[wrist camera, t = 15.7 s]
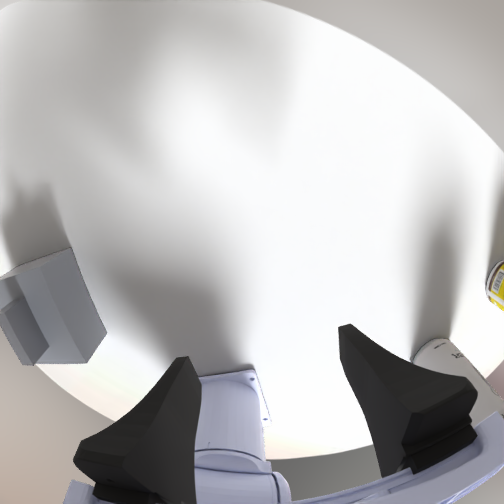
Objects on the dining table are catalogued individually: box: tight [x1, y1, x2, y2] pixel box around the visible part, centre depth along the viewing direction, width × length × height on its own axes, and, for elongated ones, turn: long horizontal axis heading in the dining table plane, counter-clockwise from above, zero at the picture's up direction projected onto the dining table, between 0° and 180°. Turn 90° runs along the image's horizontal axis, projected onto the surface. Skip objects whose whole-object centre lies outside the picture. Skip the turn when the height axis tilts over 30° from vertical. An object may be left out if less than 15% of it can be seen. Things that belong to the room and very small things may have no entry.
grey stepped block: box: [0, 248, 107, 366], centre depth 19 cm, size 9×9×8 cm
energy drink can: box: [413, 338, 504, 428], centre depth 19 cm, size 6×6×15 cm
